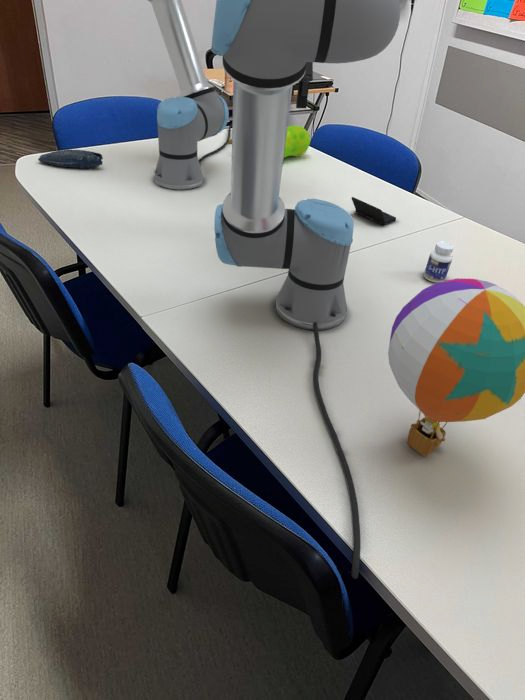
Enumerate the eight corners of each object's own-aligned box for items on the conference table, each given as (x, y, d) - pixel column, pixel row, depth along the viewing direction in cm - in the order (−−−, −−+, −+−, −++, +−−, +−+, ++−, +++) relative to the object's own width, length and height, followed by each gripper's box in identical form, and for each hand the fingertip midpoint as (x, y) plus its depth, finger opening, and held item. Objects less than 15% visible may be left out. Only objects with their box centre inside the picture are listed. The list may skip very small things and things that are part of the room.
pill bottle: (422, 279, 126) (432, 247, 121) (424, 270, 130) (434, 238, 125) (444, 285, 125) (455, 252, 120) (446, 275, 129) (457, 243, 124)
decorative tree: (225, 119, 187) (305, 119, 192) (225, 149, 194) (302, 148, 199) (232, 134, 173) (318, 133, 179) (232, 165, 180) (315, 164, 185)
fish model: (99, 172, 164) (97, 156, 161) (35, 165, 165) (32, 149, 162) (106, 165, 170) (105, 149, 167) (44, 159, 171) (41, 143, 168)
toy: (336, 437, 84) (375, 278, 66) (409, 388, 95) (460, 239, 76) (438, 521, 73) (519, 358, 55) (507, 455, 84) (595, 300, 65)
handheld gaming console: (400, 212, 153) (393, 191, 145) (389, 233, 152) (381, 212, 144) (365, 206, 159) (356, 185, 151) (355, 225, 158) (345, 205, 150)
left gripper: (333, 20, 124) (320, 114, 138) (304, 6, 143) (296, 90, 156) (303, 18, 123) (293, 113, 136) (278, 5, 142) (271, 90, 155)
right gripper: (290, 88, 107) (280, 194, 121) (270, 66, 123) (263, 162, 137) (254, 87, 105) (248, 194, 119) (239, 64, 121) (235, 162, 136)
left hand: (294, 101), depth 146 cm, fingers open, 13 cm apart
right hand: (256, 177), depth 128 cm, fingers closed on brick, 8 cm apart
